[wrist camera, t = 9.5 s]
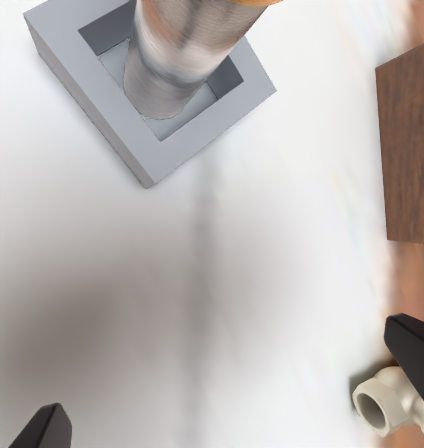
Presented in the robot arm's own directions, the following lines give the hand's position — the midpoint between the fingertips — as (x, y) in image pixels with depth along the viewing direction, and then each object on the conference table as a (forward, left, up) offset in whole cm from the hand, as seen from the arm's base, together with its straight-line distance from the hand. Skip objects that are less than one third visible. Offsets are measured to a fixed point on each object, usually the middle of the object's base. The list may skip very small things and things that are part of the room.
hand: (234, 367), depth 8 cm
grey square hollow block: (+7, +9, -12) cm, 17 cm away
